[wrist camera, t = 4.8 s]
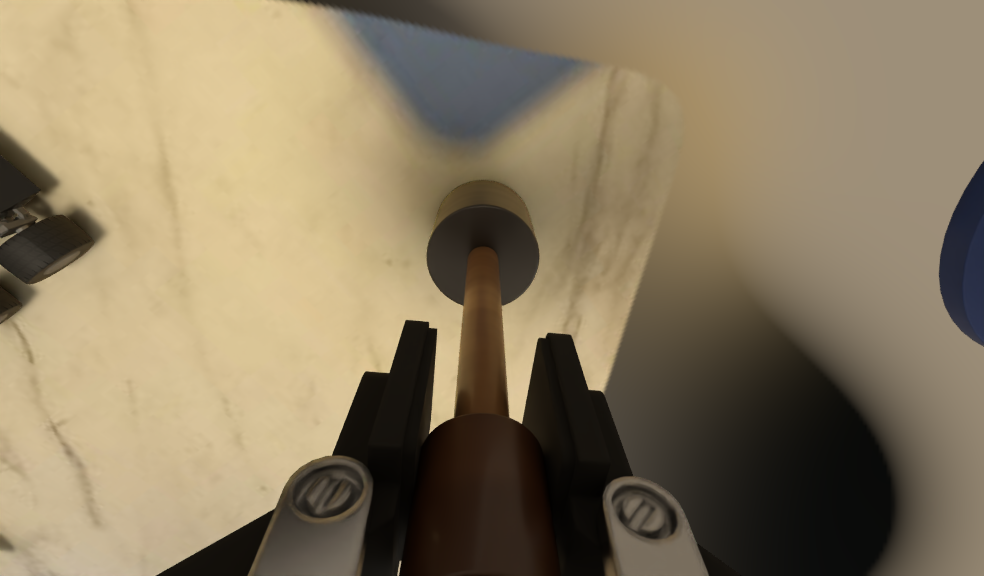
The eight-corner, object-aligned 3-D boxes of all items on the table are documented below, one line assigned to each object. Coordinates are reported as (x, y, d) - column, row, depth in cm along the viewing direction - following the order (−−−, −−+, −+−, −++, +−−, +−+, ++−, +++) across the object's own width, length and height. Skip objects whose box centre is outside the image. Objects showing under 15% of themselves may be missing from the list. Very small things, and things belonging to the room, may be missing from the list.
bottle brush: (549, 217, 21) (711, 606, 6) (493, 286, 23) (510, 735, 8) (472, 159, 20) (433, 465, 5) (417, 236, 22) (259, 652, 6)
